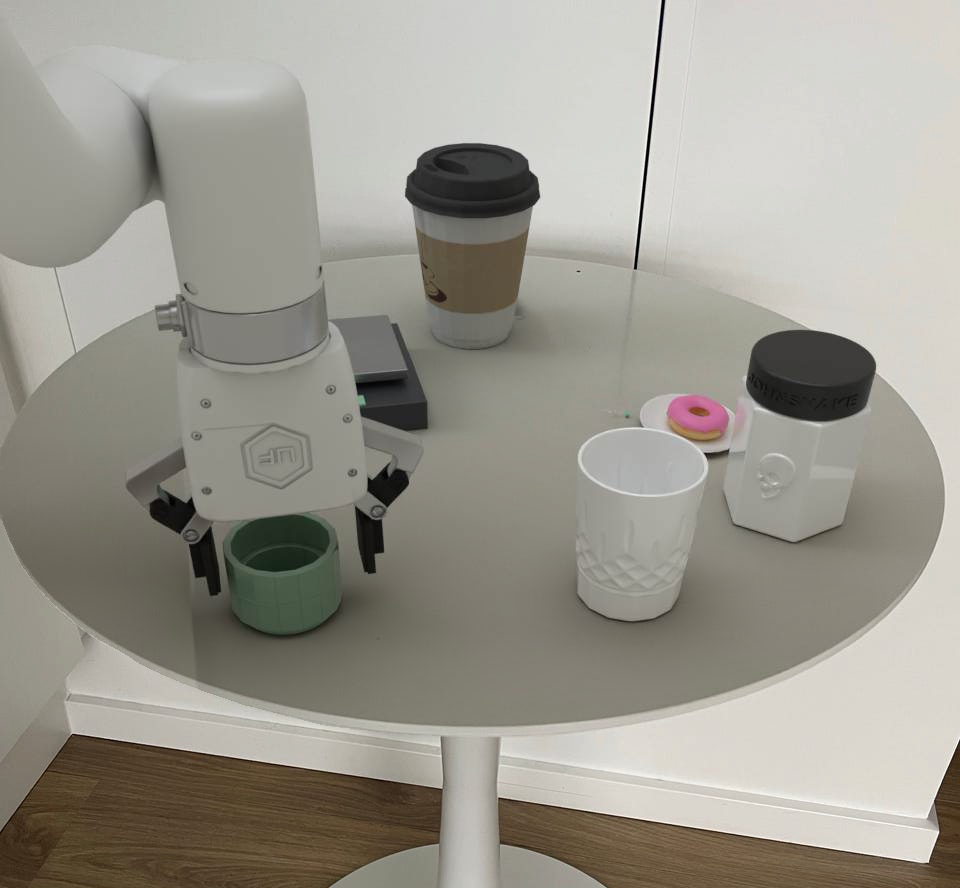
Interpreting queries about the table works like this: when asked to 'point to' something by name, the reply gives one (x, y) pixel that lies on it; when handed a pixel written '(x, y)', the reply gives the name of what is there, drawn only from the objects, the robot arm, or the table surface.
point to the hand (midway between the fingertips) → (291, 571)
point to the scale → (395, 397)
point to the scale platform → (372, 348)
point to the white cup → (636, 519)
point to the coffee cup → (472, 238)
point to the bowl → (283, 572)
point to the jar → (798, 433)
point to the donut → (690, 420)
